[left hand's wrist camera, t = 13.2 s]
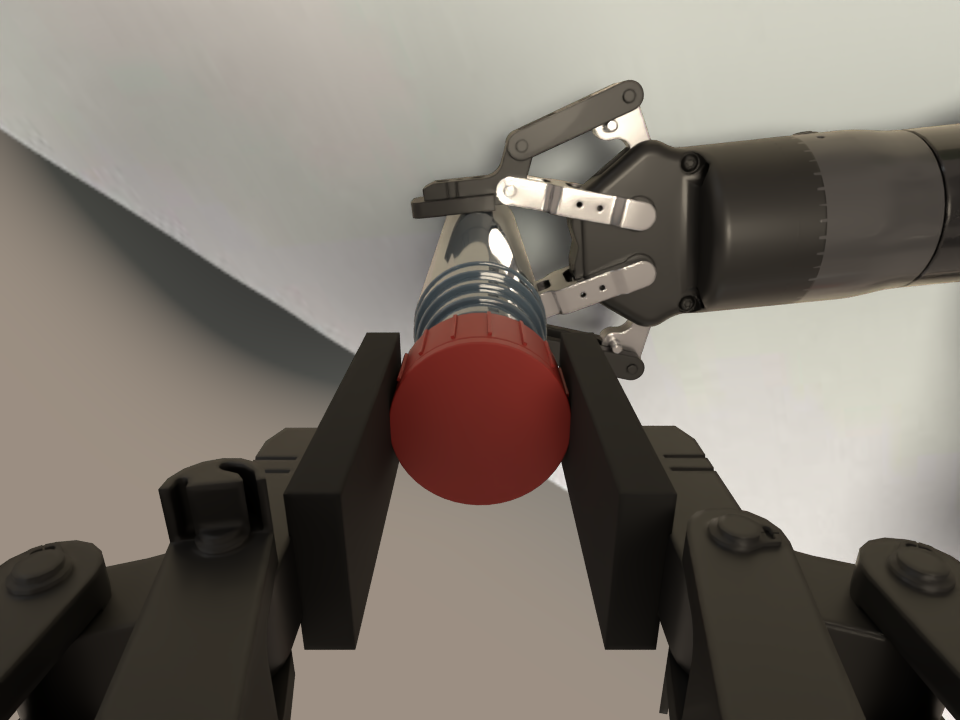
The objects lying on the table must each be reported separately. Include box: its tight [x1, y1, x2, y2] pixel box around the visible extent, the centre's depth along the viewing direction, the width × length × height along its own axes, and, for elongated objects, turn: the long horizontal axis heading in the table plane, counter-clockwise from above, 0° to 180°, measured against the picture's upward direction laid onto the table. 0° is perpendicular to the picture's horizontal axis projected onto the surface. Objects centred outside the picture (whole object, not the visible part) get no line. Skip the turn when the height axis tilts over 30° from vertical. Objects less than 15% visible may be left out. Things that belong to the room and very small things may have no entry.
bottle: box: [414, 204, 547, 343], centre depth 24 cm, size 4×4×23 cm
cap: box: [390, 311, 571, 505], centre depth 14 cm, size 4×4×2 cm
